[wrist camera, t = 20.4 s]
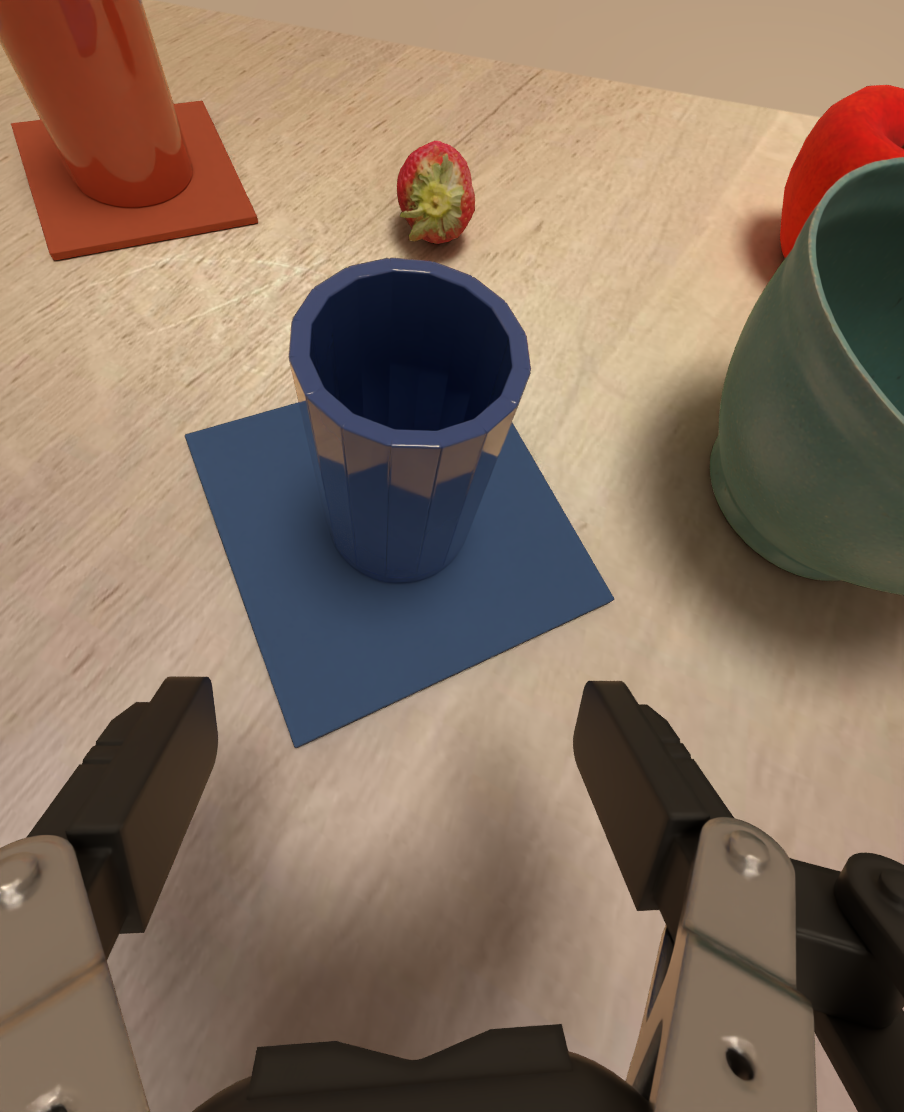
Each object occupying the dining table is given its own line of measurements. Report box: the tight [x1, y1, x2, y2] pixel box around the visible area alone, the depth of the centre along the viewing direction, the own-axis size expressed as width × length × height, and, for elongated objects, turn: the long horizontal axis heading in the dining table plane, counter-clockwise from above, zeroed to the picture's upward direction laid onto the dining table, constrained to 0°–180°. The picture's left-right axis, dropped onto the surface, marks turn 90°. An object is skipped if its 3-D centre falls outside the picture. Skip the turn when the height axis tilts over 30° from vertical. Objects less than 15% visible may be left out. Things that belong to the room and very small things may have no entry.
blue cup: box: [289, 258, 531, 583], centre depth 18 cm, size 6×6×10 cm
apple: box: [780, 85, 904, 258], centre depth 29 cm, size 9×9×8 cm
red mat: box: [11, 101, 258, 260], centre depth 28 cm, size 10×10×1 cm
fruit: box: [397, 141, 475, 244], centre depth 27 cm, size 4×6×5 cm
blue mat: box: [185, 402, 614, 748], centre depth 22 cm, size 14×14×1 cm
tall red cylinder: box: [0, 0, 193, 208], centre depth 23 cm, size 6×6×10 cm
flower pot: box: [710, 157, 904, 595], centre depth 21 cm, size 16×16×11 cm
